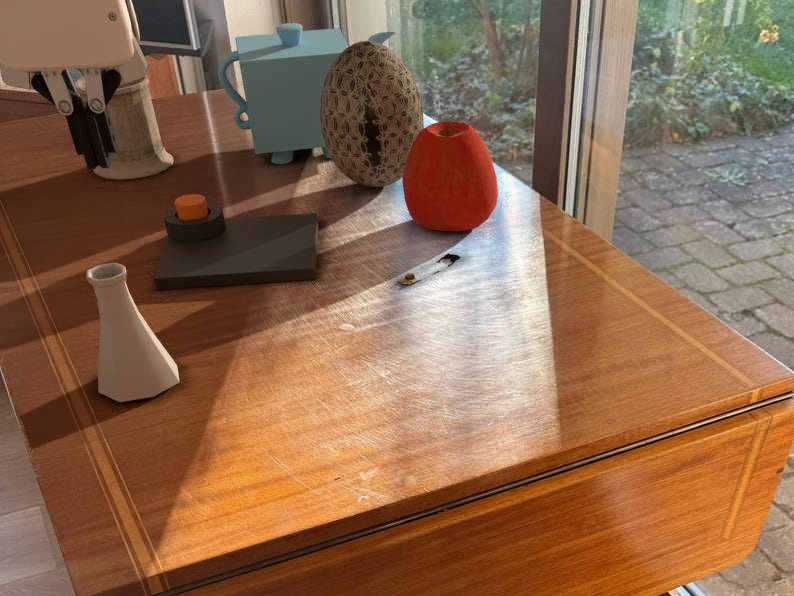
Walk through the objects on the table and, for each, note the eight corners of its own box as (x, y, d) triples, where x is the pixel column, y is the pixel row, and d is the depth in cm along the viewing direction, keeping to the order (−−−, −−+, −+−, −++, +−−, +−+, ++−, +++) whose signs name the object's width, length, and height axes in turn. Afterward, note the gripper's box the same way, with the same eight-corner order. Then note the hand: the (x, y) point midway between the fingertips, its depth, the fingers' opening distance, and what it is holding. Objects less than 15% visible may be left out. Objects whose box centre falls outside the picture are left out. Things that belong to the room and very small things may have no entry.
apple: (416, 248, 104) (408, 143, 97) (396, 211, 111) (388, 111, 104) (508, 235, 106) (508, 131, 98) (483, 200, 113) (481, 100, 106)
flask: (194, 386, 85) (165, 274, 78) (114, 413, 83) (76, 300, 76) (162, 352, 90) (132, 244, 83) (85, 377, 87) (47, 267, 80)
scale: (156, 290, 99) (148, 260, 97) (174, 230, 109) (167, 203, 107) (315, 279, 100) (311, 250, 97) (319, 222, 110) (315, 194, 108)
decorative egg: (426, 164, 121) (418, 25, 111) (428, 201, 113) (419, 54, 103) (331, 168, 121) (314, 29, 111) (326, 206, 113) (307, 59, 102)
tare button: (176, 223, 104) (172, 206, 103) (180, 211, 106) (176, 194, 105) (207, 221, 104) (203, 204, 103) (210, 209, 106) (206, 193, 105)
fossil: (449, 258, 103) (448, 250, 103) (462, 262, 102) (462, 254, 102) (397, 285, 99) (396, 277, 98) (410, 289, 98) (409, 281, 97)
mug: (186, 166, 123) (161, 58, 115) (111, 185, 119) (80, 75, 110) (139, 136, 131) (113, 34, 123) (68, 153, 127) (36, 49, 119)
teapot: (235, 170, 121) (211, 44, 112) (231, 140, 129) (208, 20, 119) (410, 152, 124) (401, 28, 115) (396, 124, 132) (387, 5, 122)
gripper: (139, -137, 69) (198, 140, 82) (-79, -127, 68) (15, 152, 81) (126, -120, 64) (191, 173, 77) (-111, -109, 63) (-5, 186, 76)
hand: (101, 162), depth 79 cm, fingers closed
